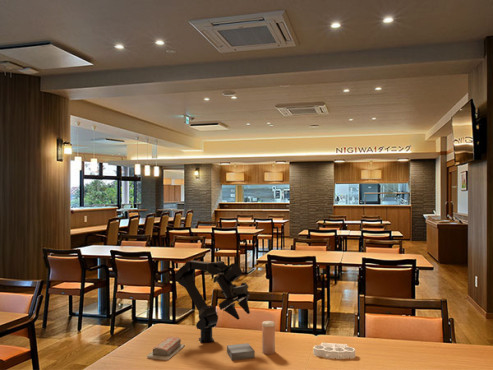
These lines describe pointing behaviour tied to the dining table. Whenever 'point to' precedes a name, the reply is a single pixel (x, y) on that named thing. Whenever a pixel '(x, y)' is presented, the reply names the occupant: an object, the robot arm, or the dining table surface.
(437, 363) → the dining table surface
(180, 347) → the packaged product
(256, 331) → the dining table surface
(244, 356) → the riser block
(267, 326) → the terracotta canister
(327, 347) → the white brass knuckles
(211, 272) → the robot arm
